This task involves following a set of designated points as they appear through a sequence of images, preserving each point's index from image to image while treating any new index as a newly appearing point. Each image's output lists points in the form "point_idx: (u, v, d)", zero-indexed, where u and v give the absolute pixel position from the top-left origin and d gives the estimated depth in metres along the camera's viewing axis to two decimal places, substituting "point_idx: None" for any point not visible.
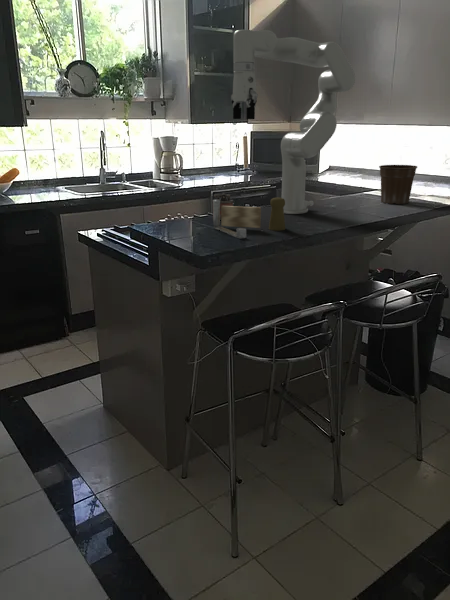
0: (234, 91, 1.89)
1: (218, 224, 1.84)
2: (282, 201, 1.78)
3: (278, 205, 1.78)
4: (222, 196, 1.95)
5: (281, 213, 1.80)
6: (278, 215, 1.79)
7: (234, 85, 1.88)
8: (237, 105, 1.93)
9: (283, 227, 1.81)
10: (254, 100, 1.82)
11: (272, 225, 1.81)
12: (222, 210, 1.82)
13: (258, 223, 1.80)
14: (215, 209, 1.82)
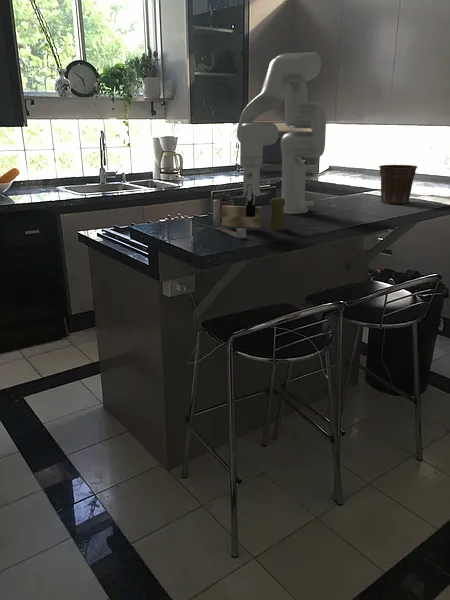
0: None
1: (218, 224, 1.84)
2: (282, 201, 1.78)
3: (278, 205, 1.78)
4: (222, 196, 1.95)
5: (281, 213, 1.80)
6: (278, 215, 1.79)
7: None
8: None
9: (283, 227, 1.81)
10: None
11: (272, 225, 1.81)
12: (222, 210, 1.82)
13: (259, 223, 1.80)
14: (215, 209, 1.82)
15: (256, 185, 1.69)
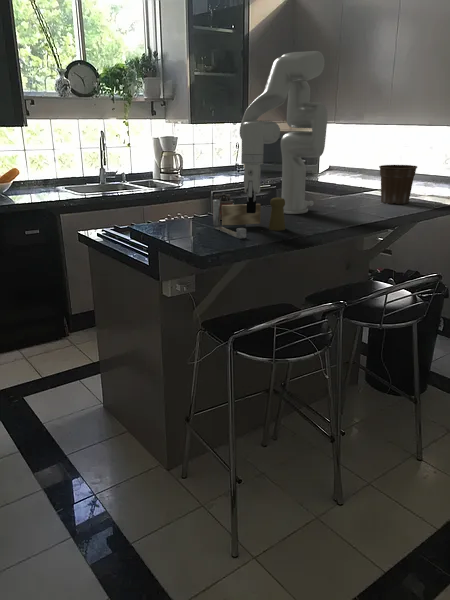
0: None
1: (218, 224, 1.84)
2: (282, 201, 1.78)
3: (278, 205, 1.78)
4: (222, 196, 1.95)
5: (281, 213, 1.80)
6: (278, 215, 1.79)
7: None
8: None
9: (283, 227, 1.81)
10: None
11: (272, 225, 1.81)
12: (223, 209, 1.83)
13: (259, 219, 1.86)
14: (215, 209, 1.82)
15: (257, 182, 1.74)
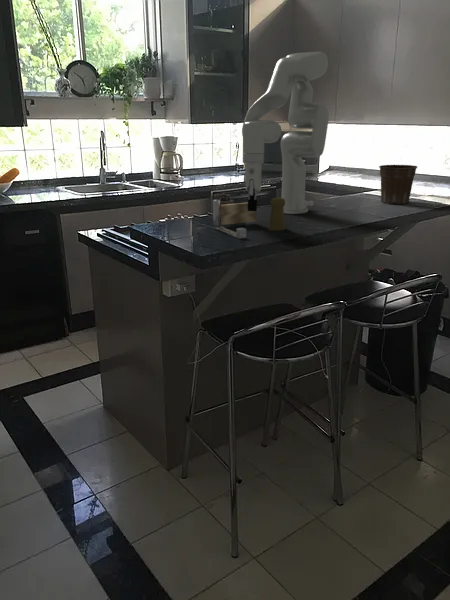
0: None
1: (218, 224, 1.84)
2: (282, 201, 1.78)
3: (278, 205, 1.78)
4: (222, 196, 1.95)
5: (281, 213, 1.80)
6: (278, 215, 1.79)
7: None
8: None
9: (283, 227, 1.81)
10: None
11: (272, 225, 1.81)
12: (223, 209, 1.83)
13: (255, 217, 1.90)
14: (215, 209, 1.82)
15: (258, 180, 1.78)
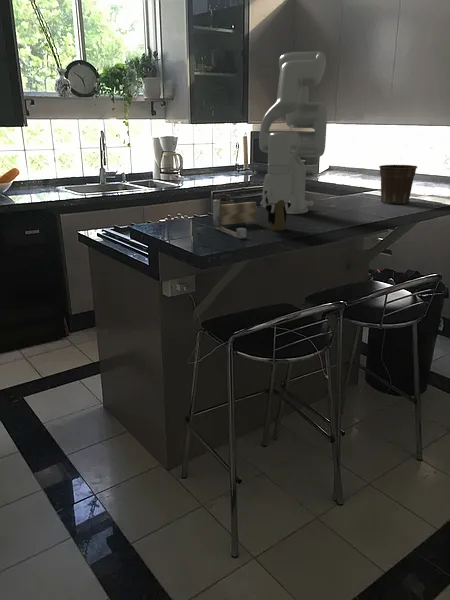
0: (274, 193, 1.76)
1: (218, 224, 1.84)
2: (282, 201, 1.78)
3: (278, 205, 1.78)
4: (222, 196, 1.95)
5: (281, 213, 1.80)
6: (278, 215, 1.79)
7: (275, 187, 1.75)
8: None
9: (283, 227, 1.81)
10: None
11: (272, 225, 1.81)
12: (223, 209, 1.83)
13: (255, 217, 1.90)
14: (215, 209, 1.82)
15: None
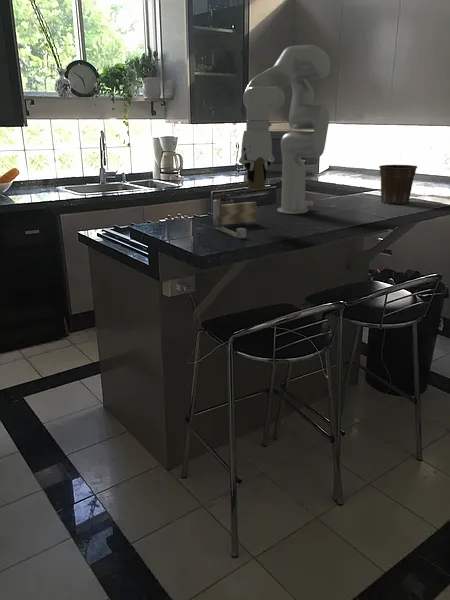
0: (253, 150, 1.72)
1: (218, 224, 1.84)
2: (261, 158, 1.74)
3: (257, 163, 1.74)
4: (222, 196, 1.95)
5: (260, 171, 1.76)
6: (258, 173, 1.75)
7: (253, 144, 1.71)
8: None
9: (262, 185, 1.77)
10: None
11: (252, 183, 1.77)
12: (223, 209, 1.83)
13: (255, 217, 1.90)
14: (215, 209, 1.82)
15: None
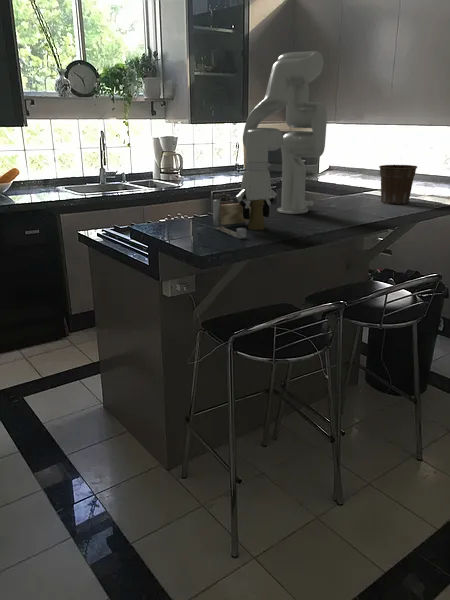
0: (252, 190, 1.76)
1: (218, 224, 1.84)
2: (261, 201, 1.79)
3: (257, 205, 1.79)
4: (222, 196, 1.95)
5: (260, 213, 1.81)
6: (257, 214, 1.81)
7: (253, 184, 1.76)
8: None
9: (262, 226, 1.82)
10: None
11: (252, 224, 1.82)
12: (223, 209, 1.83)
13: None
14: (215, 209, 1.82)
15: None
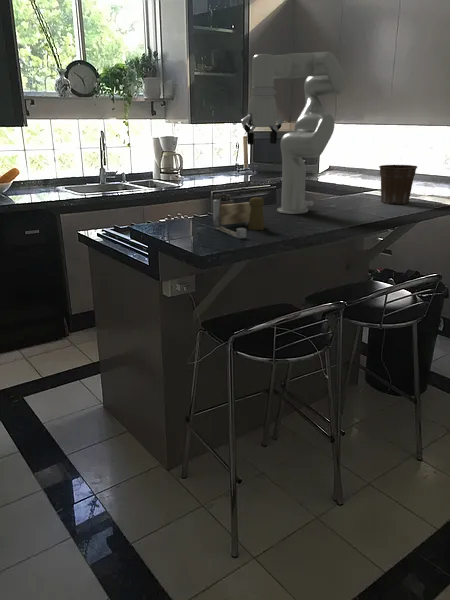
0: (259, 116, 1.80)
1: (218, 224, 1.84)
2: (261, 201, 1.79)
3: (257, 205, 1.79)
4: (222, 196, 1.95)
5: (260, 213, 1.81)
6: (257, 214, 1.81)
7: (259, 109, 1.79)
8: None
9: (262, 226, 1.82)
10: None
11: (252, 224, 1.82)
12: (223, 209, 1.83)
13: None
14: (215, 209, 1.82)
15: None
